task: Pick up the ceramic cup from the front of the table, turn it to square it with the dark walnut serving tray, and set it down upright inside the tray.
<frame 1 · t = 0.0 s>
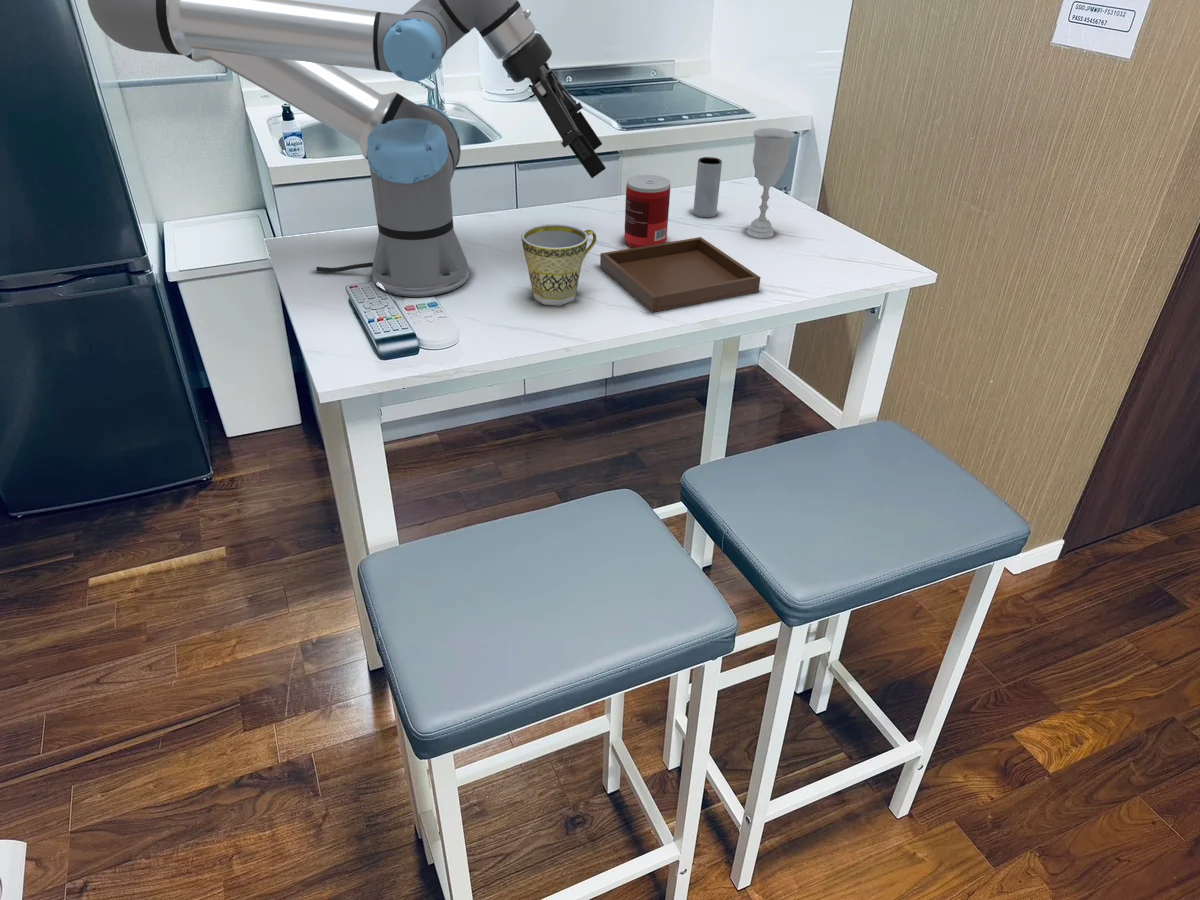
hand: (597, 160, 140), 15 cm above the table, tool tilted 35°, fingers open, 13 cm apart
gray cylinder: (704, 214, 164), on the table
ceramic cup: (562, 295, 133), on the table
chalice: (760, 233, 156), on the table
tray: (677, 279, 138), on the table
canned food: (645, 243, 151), on the table
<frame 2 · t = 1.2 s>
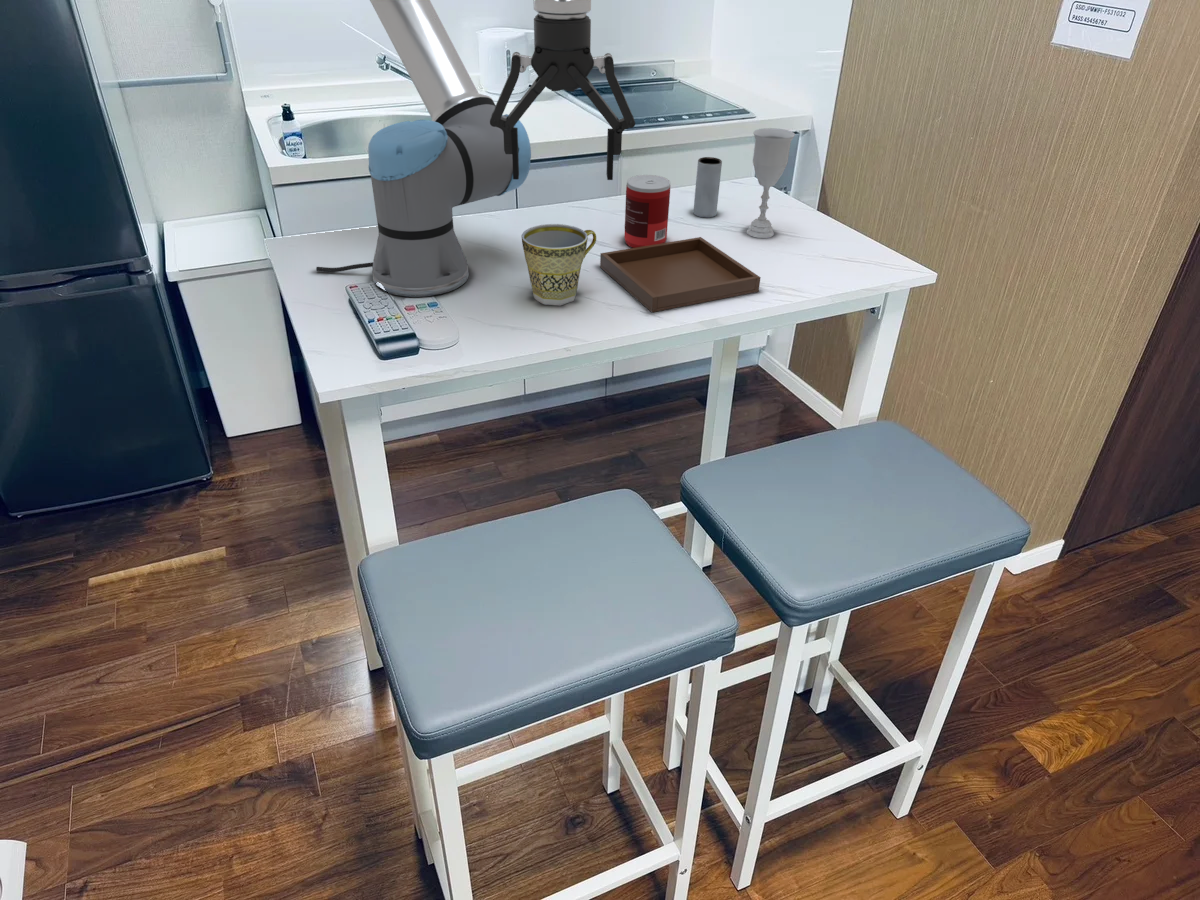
hand: (563, 177, 122), 18 cm above the table, tool pointing down, fingers open, 13 cm apart
nothing on the table moved.
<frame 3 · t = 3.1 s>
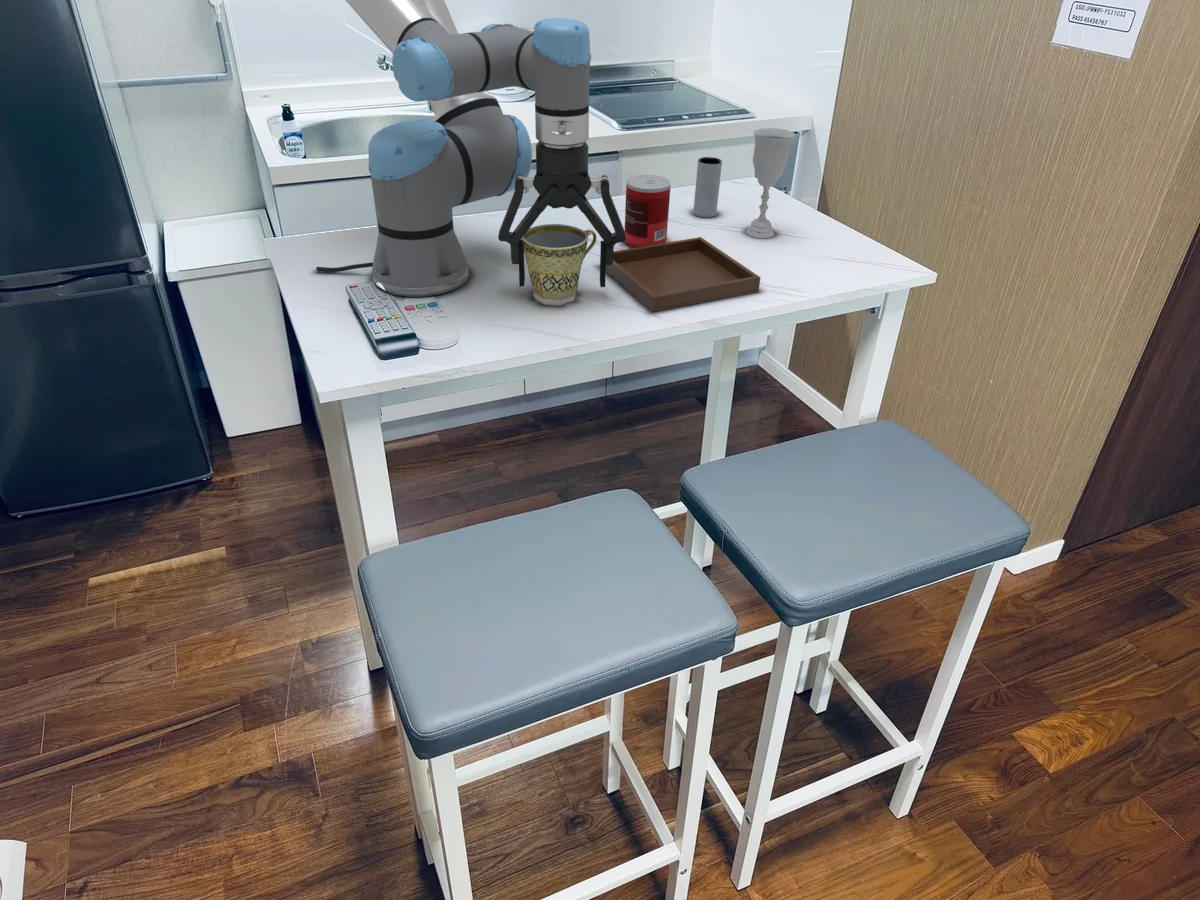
hand: (562, 283, 132), 2 cm above the table, tool pointing down, fingers open, 12 cm apart
ceramic cup: (562, 295, 133), on the table, touching gripper
everything else where it was.
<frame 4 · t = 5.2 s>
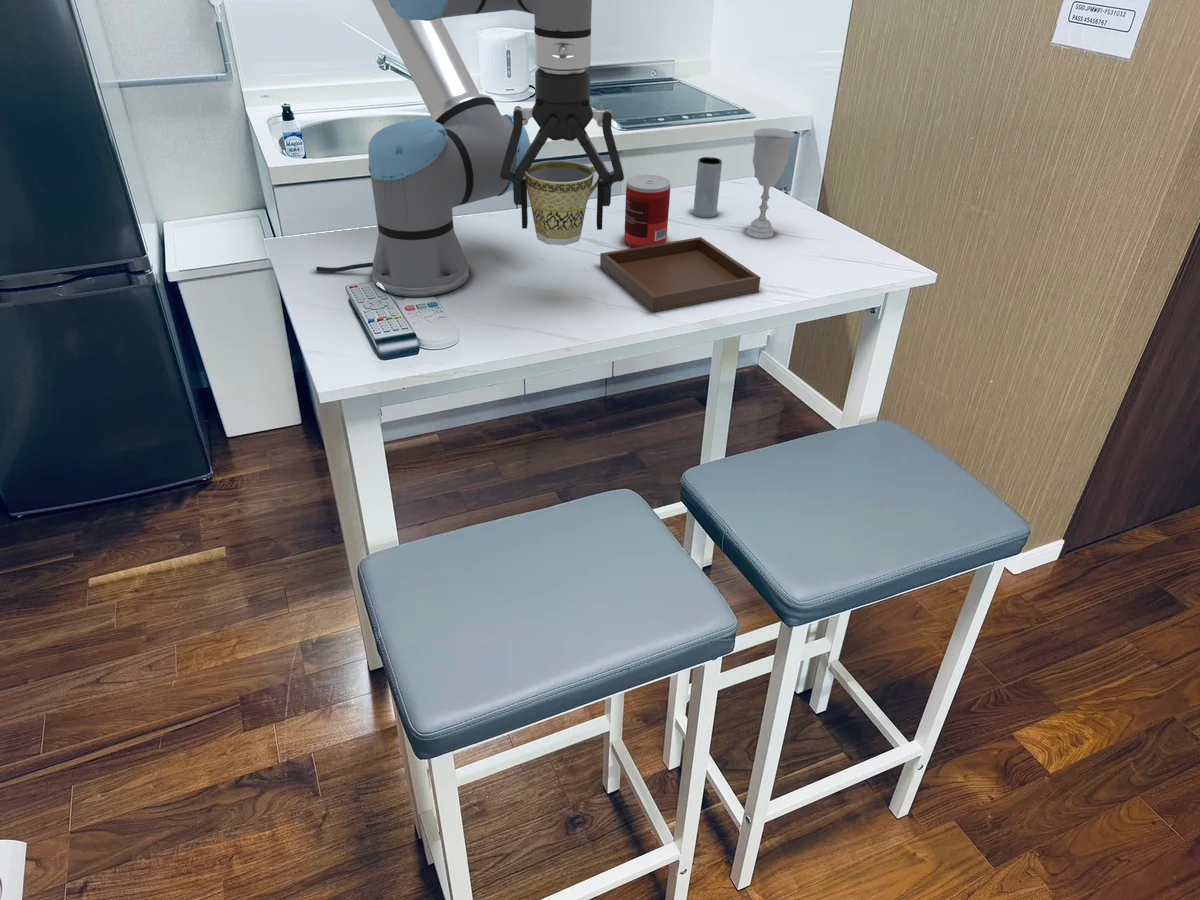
hand: (562, 225, 126), 11 cm above the table, tool pointing down, fingers closed on ceramic cup, 10 cm apart
ceramic cup: (566, 236, 128), point 9 cm above the table, touching gripper
everything else where it was.
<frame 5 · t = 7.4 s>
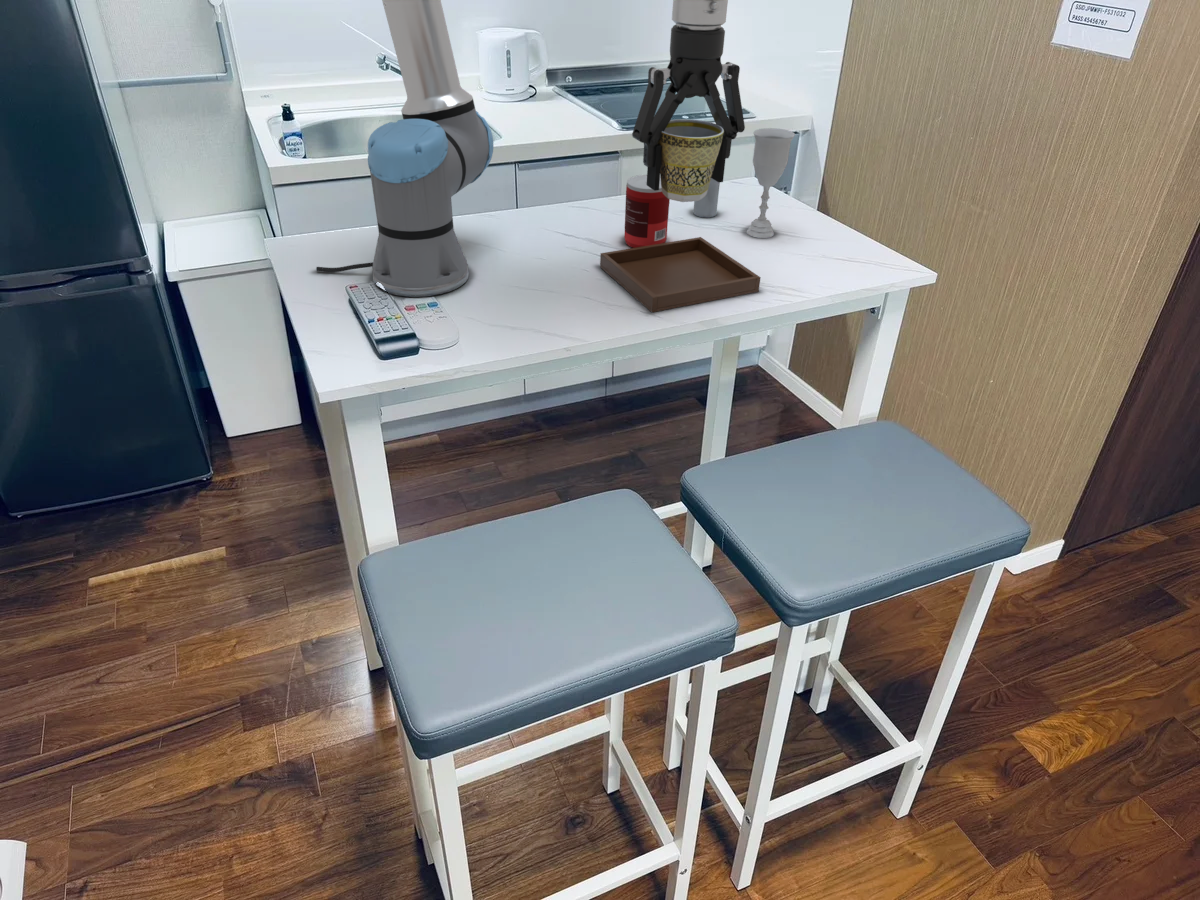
hand: (685, 183, 129), 16 cm above the table, tool pointing down, fingers closed on ceramic cup, 10 cm apart
ceramic cup: (687, 193, 131), point 14 cm above the table, touching gripper
everything else where it was.
when the fingers open (2 cm above the table, at t = 10.8 s): ceramic cup stays where it is, resting on tray.
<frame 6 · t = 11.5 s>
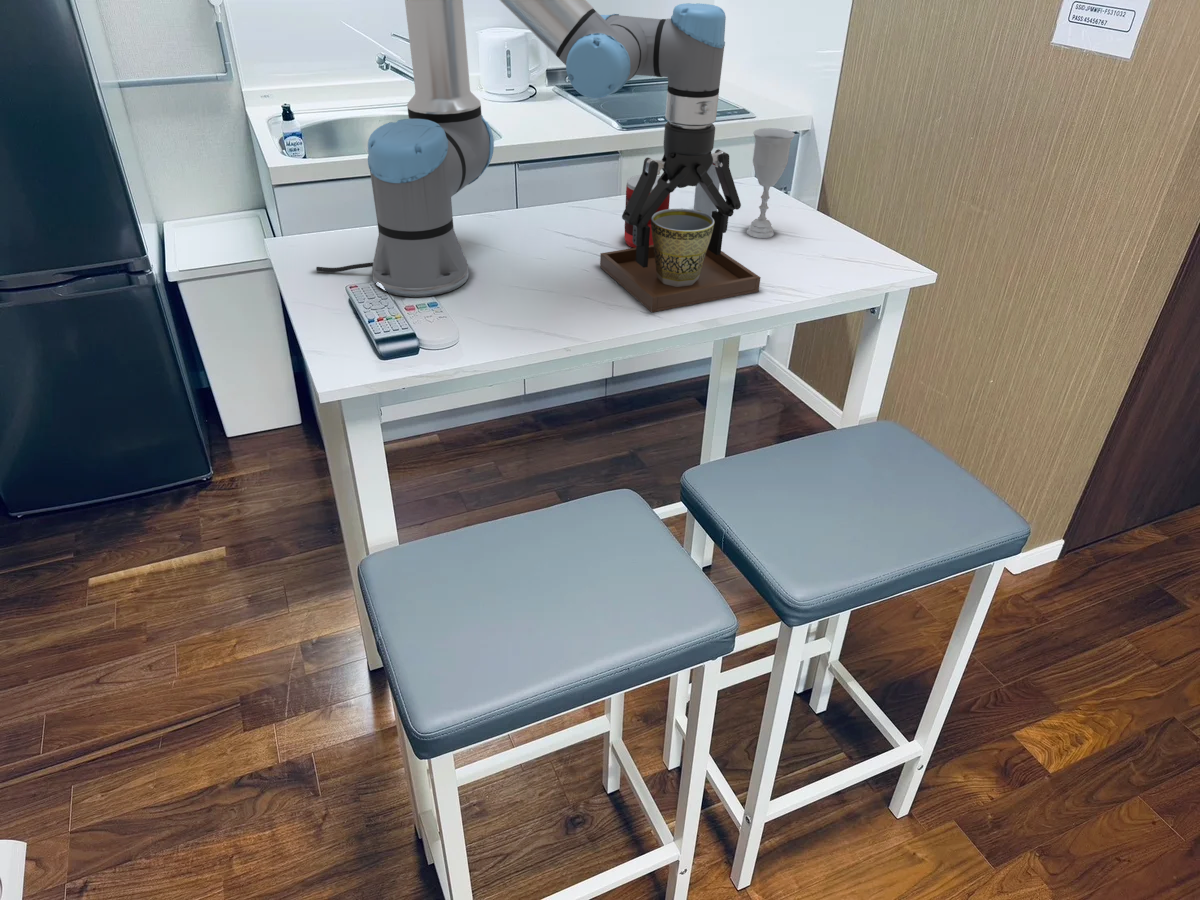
hand: (678, 258, 136), 4 cm above the table, tool pointing down, fingers open, 13 cm apart
ceramic cup: (681, 276, 139), resting on tray
everything else where it was.
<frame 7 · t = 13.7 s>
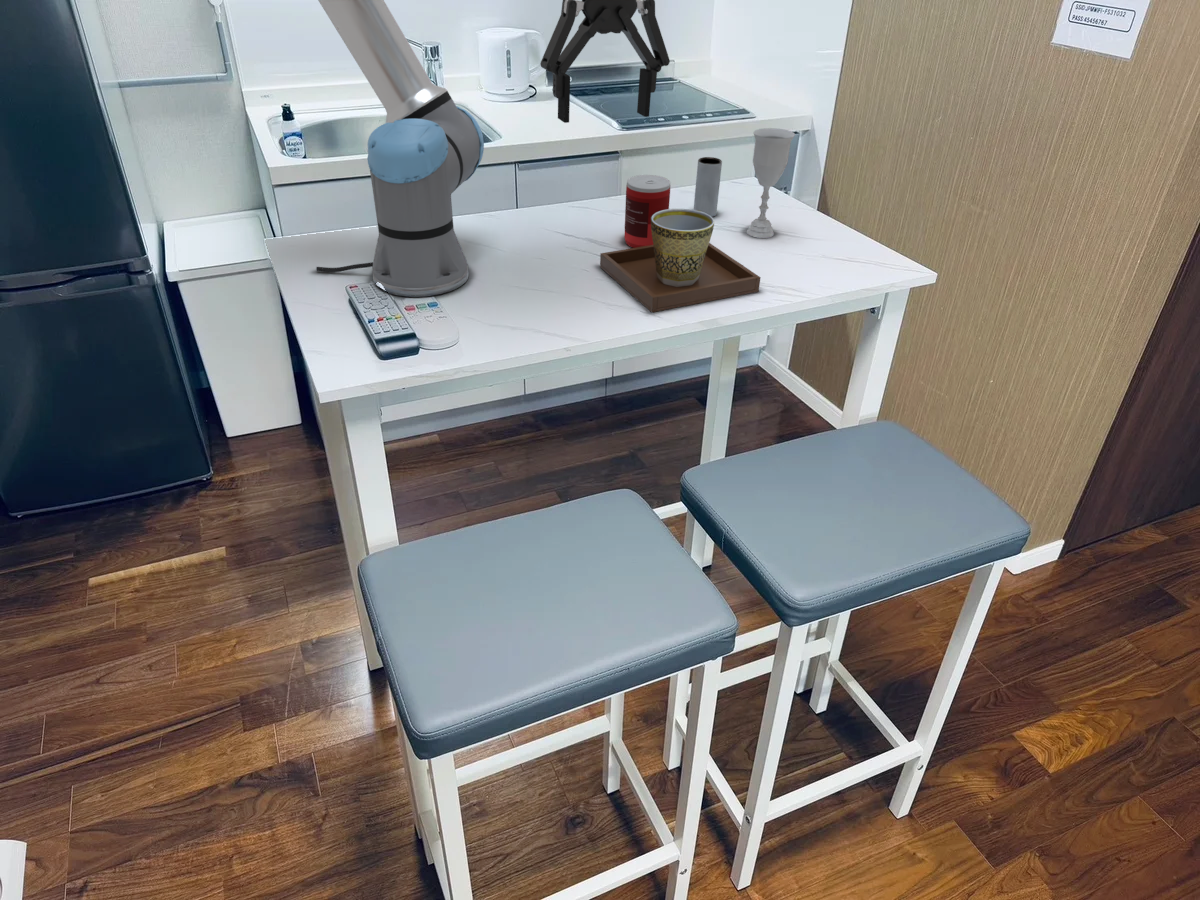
hand: (603, 117, 130), 24 cm above the table, tool pointing down, fingers open, 13 cm apart
nothing on the table moved.
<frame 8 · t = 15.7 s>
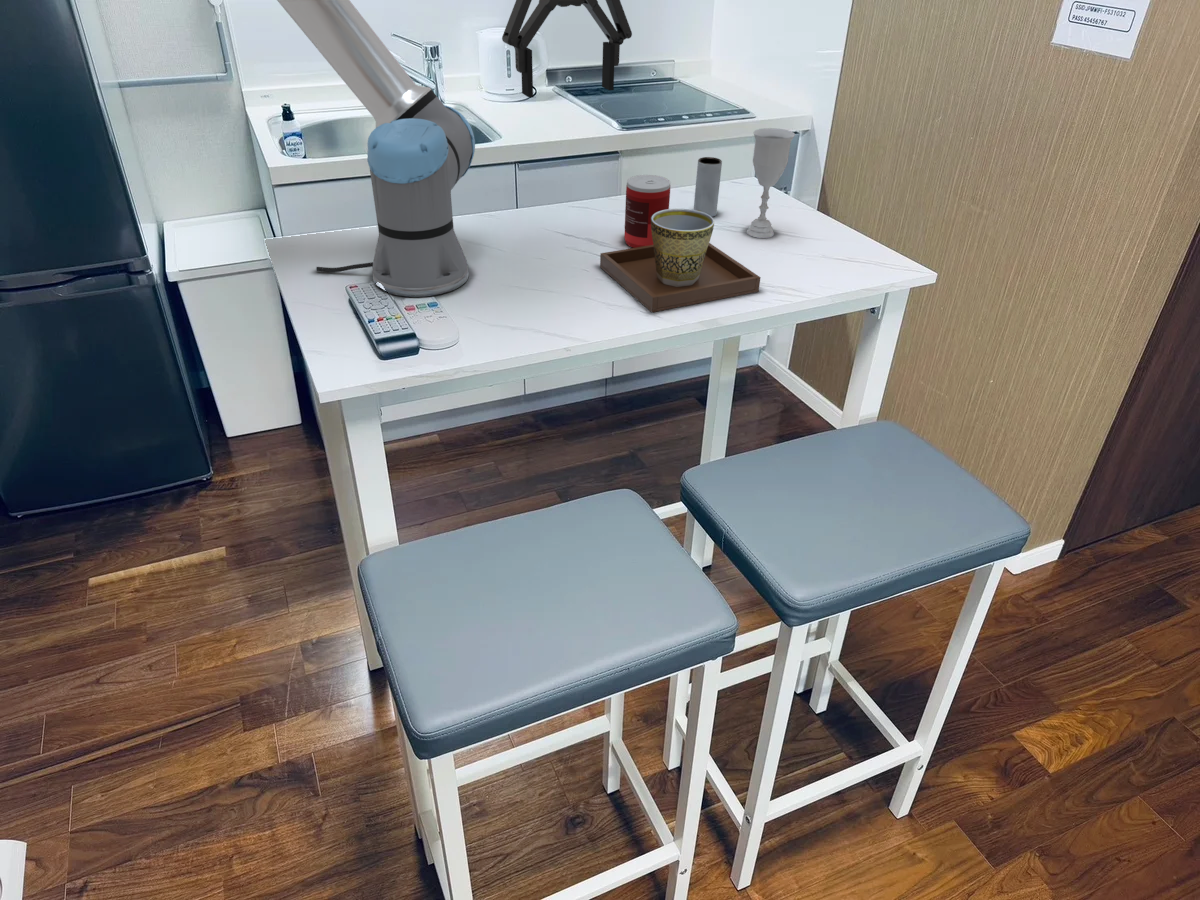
hand: (568, 92, 130), 27 cm above the table, tool pointing down, fingers open, 13 cm apart
nothing on the table moved.
at the end: ceramic cup inside the target area in the tray (0.7 cm from its centre), point 0.3 cm above the tray's base; ceramic cup tilted 0°; the gripper is holding nothing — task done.
